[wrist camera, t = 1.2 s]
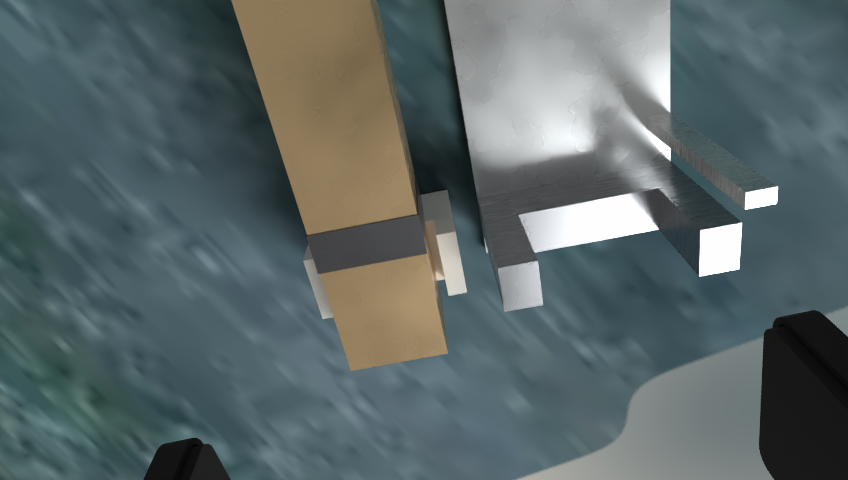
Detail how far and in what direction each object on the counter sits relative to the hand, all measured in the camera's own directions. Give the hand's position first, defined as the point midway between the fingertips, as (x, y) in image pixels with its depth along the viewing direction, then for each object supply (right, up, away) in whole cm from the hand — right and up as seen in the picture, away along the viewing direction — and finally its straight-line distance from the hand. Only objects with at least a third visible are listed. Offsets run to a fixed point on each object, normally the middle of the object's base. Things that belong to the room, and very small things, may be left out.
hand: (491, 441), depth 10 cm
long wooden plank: (-5, +10, +12) cm, 17 cm away
